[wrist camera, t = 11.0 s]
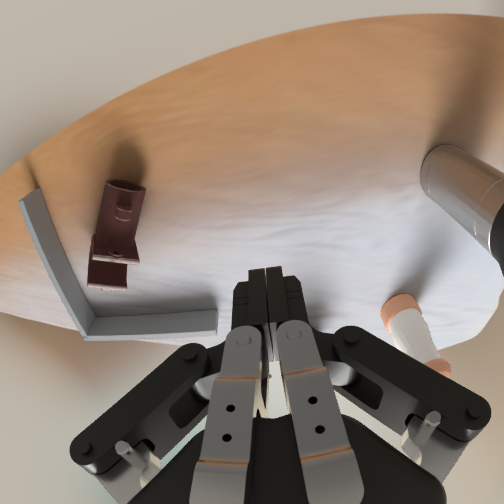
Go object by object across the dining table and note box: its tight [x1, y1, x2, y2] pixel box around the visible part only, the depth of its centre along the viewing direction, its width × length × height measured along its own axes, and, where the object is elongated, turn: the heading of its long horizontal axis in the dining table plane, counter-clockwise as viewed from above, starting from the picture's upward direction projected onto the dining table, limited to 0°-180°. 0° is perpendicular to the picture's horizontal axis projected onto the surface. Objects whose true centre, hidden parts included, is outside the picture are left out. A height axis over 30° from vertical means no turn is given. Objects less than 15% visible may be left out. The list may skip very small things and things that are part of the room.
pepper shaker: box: [381, 294, 451, 378], centre depth 46 cm, size 7×7×19 cm
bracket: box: [87, 180, 146, 291], centre depth 41 cm, size 6×17×10 cm, turn 161°
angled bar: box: [18, 188, 219, 341], centre depth 45 cm, size 25×28×5 cm
